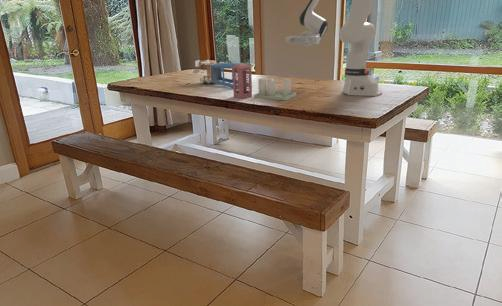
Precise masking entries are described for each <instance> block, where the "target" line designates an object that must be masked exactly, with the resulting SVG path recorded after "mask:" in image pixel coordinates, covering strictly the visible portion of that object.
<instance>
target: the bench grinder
mask: <svg viewBox="0 0 502 306" xmlns="http://www.w3.org/2000/svg"><path fill="white" fill-rule="evenodd" d="M194 62H195V67H196V69H194V70H193V73H194V74H198V73H200V71H201V72H202V71H203V72H204V71H206V75H203V76H202V77H201V76H200V77H199V82H200V84H202V85H203V83H204V84H205V83H207V84H211V83H213V84H216V85H217V84H218V85H220V86H224V87H228V88H232V89H233V69H232V68H231V67H232V66H233V65H235V64H240V63H241V62H218V63H217V61H216V60H213V59H212V60H211V59H205V60H200V59H198V60H195V61H194ZM243 63H244V64H248V65H250V66H252V65H251V64H252V63H251V62H243ZM200 66H202V69H197V68H198V67H200ZM225 69H231V79H230V78H225ZM246 72H247V71H246ZM246 75H247V74H246ZM246 78H247V76H246ZM247 83H248V84H247V85H249V82H247ZM237 85H238V82H237ZM236 90H238V87H237V89H236Z"/></svg>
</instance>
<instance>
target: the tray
mask: <svg viewBox="0 0 502 306" xmlns="http://www.w3.org/2000/svg"><path fill="white" fill-rule="evenodd" d="M294 97H297V92H295V91H290V95H289V96H287V97H282V91H279V90H275V96H265V95H259V92H257V93H256V94H253V98H254V99H266V100H278V101H288V100H290V99H292V98H294Z"/></svg>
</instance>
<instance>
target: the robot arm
mask: <svg viewBox="0 0 502 306" xmlns="http://www.w3.org/2000/svg"><path fill="white" fill-rule="evenodd" d="M319 1H320V0H310V1H309V2H308V3H307V5H306V7H305V8H304V9H303V11H302V12H301V13H300V15H299V18H298V20H299V24H300V25H301V26H303V27H305V28H307V29H308V30H306V31H303V32H301V33H300V34H299V35H290V36H286V37H285V43H287V44H300V45H301V46H303V47H309V46H310V47H311V46H315V45H316V46H317V45H320V41H321V40H322V37H324V36H325V34H326V32H327V30H328V28H329V25H328V21H327V20H326V19H325V17H324V18H323V17H322V16H320V15H318V14H317V13H315V12H314V10H315V8H316V6H317V5H318V3H319ZM373 4H374V0H352V1H351V7H350V11H349V14H348V16H347V19H346V21H345V23H344V24H343V25H342V26H341V28H339V32H338V36H339V40H340V41H341V42H342V43H344V44H349V45H350V49H349V51H347V54H346V61H345V64H346V65H345V67H344V69H345V70H344V84H343V87H342V88H343V89H342V91H341V92H342V94H347V96H364V97H365V96H366V97H367V96H369V97H376V96H380V95H382V94H383V90H382V89H379V84H378V81H377V80H376V79H375V78H373V77H372V76H371V75H370V69H369V68H367V56H368V51H369V48H370V45H371V43H372V41H373V40H374V38H375V36H376V33H377V30H376V29H377V28H376V27H375V25H374V24H373V23H370V22H367V21H366V20H367V19H368V17H369V16H370V14H371V13H372V11H373V6H374V5H373Z"/></svg>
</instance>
